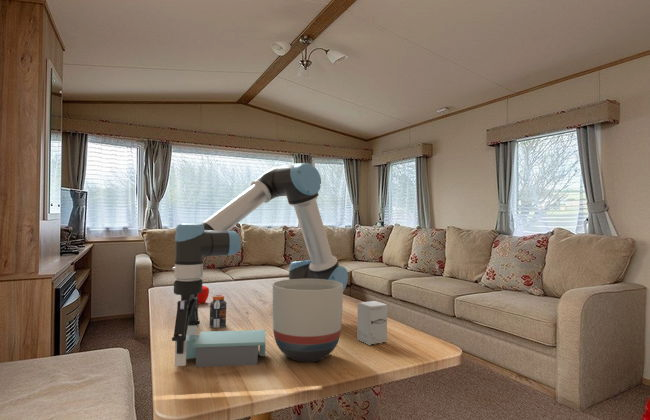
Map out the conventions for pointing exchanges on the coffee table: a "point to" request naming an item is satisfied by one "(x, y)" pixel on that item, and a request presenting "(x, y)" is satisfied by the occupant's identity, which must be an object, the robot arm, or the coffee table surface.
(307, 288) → the planter
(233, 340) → the lid
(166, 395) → the coffee table surface
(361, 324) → the supplement box
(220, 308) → the pill bottle
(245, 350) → the tub
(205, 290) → the apple
